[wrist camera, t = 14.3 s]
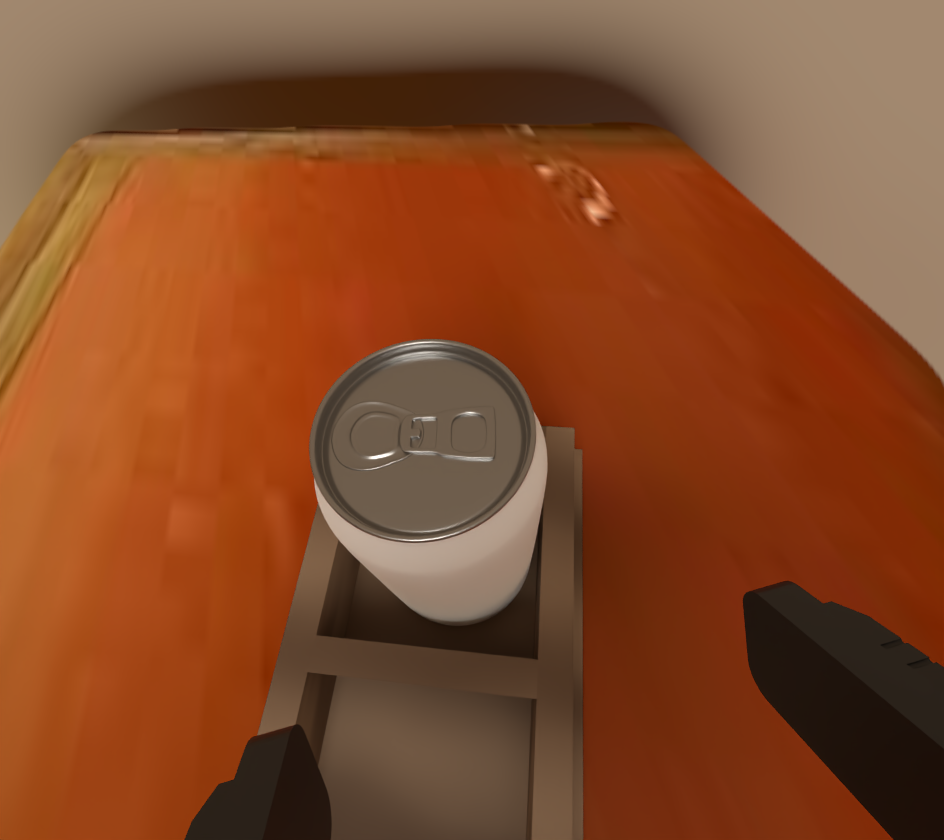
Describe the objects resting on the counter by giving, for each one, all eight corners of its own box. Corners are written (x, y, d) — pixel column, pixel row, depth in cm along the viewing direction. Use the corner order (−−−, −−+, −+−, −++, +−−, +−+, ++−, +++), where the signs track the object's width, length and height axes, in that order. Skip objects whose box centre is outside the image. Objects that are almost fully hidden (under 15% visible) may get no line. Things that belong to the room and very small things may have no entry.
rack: (577, 1052, 16) (604, 1184, 12) (228, 987, 17) (135, 1086, 13) (578, 461, 26) (593, 415, 22) (356, 446, 27) (328, 398, 23)
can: (395, 485, 25) (314, 328, 14) (528, 484, 24) (546, 322, 14) (382, 627, 21) (265, 561, 11) (534, 628, 21) (564, 562, 11)
